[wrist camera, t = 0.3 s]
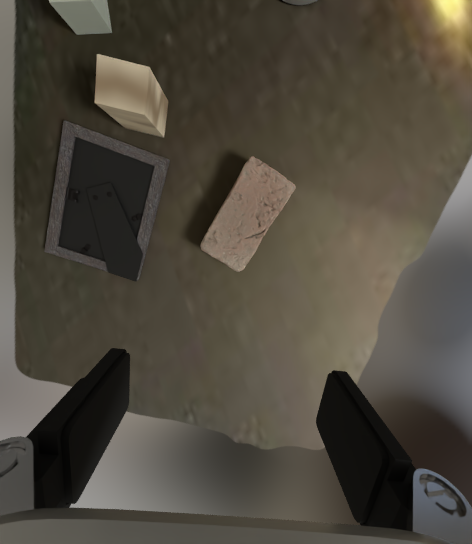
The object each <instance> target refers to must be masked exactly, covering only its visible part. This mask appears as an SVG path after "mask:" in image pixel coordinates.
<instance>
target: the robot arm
mask: <svg viewBox="0 0 472 544" xmlns="http://www.w3.org/2000/svg"><path fill="white" fill-rule="evenodd" d="M282 1H284V2H287V3H290V4H294V5H305V4H310V3H313V2H315V1H318V0H282ZM129 379H130V354H129V353H126V350H125V349H116V348H112V349H110V350H109V352H108V353H107V354H106V355H105V356H104V357H103V358H102V359H101V360H100V361H99V363H98V364H97V365H96V366H95V367H94V368H93V369H92V370H91V371H90V372H89V374H88V375H87V376H86V377H85V378H82V379H80V380H79V381H78V382H77V383H76V384H75V385H74V386H73V387H72V388H71V389H70V391H68V393H67V394H66V395H65V396H64V397H63V398H62V399H61V400H60V401H59V402H58V404H56V405H55V407H54V408H53V409H52V410H51V411H50V412H49V413H48V414H47V415H46V416H45V417H44V418H43V420H42V421H41V422H40V423H39V424H38V425H37V426H36V427H35V428H34V429H33V430H32V431H31V432H30V434H29V435H28V436H27V437H11V438H8V439H5V440H2V441H0V544H472V508H471V506H470V504H469V503H468V502H467V500H466V498H465V497H464V496H463V495H462V494H461V492H460V491H459V490H458V489H457V488H456V487H455V486H454V485H452V484H451V483H450V482H449V481H448V480H446V479H445V478H443V477H442V476H440V475H439V474H437V473H435V472H433V471H430V470H427V469H417V470H416V469H415V467H414V466H413V465H412V463H411V462H412V460H411V459H410V457H409V456H408V455H407V453H406V452H405V450H404V449H403V448H402V447H401V445H400V444H399V442H398V441H397V440H396V438H395V437H394V436H393V434H392V433H391V431H390V430H389V429H388V428H387V426H386V425H385V423H384V422H383V421H382V419H381V418H380V417H379V415H378V414H377V413H376V411H375V410H374V408H373V407H372V406H371V404H370V403H369V402H368V400H367V399H366V398H365V396H364V395H363V394H362V392H361V391H360V389H359V388H358V387H357V385H356V384H355V383H354V381H353V380H352V379H351V377H350V376H349V374H348V373H347V372H344V371H335V370H334V371H332V373H329V374H328V377H327V380H326V384H325V388H324V392H323V395H322V399H321V403H320V407H319V410H318V414H317V418H316V424H317V428H318V430H319V433H320V435H321V438H322V440H323V443H324V445H325V448H326V450H327V453H328V455H329V458H330V460H331V462H332V465H333V467H334V470H335V472H336V475H337V477H338V480H339V482H340V485H341V487H342V489H343V492H344V495H345V497H346V499H347V502H348V504H349V507H350V509H351V512H352V514H353V517H354V519H355V520H356V521H357V522H359V523H360V525H361V526H360V525H348V524H335V523H321V522H308V521H294V520H280V519H264V518H250V517H234V516H217V515H204V514H188V513H171V512H153V511H136V510H119V509H89V508H69V507H70V505H71V504H75V503H76V502H77V501H78V499H79V497H80V496H81V494H82V492H83V490H84V489H85V487H86V485H87V483H88V481H89V479H90V477H91V476H92V474H93V472H94V470H95V468H96V466H97V464H98V463H99V461H100V459H101V457H102V455H103V453H104V451H105V450H106V447H107V446H108V444H109V442H110V440H111V438H112V437H113V435H114V433H115V431H116V429H117V427H118V426H119V424H120V422H121V420H122V418H123V416H124V414H125V412H126V411H127V408H128V405H129Z"/></svg>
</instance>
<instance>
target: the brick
mask: <svg viewBox="0 0 472 544" xmlns="http://www.w3.org/2000/svg"><path fill="white" fill-rule="evenodd" d="M295 188H296V187H295V185H294V184H293V183H292V182H291V181H288V180H287V179H286V177H284V176H283V175H281V174H280V173H279V172H277V171H276V170H274V169H273V168H271V167H269V166H268V165H266V164H265V163H263V162H262V161H260V160H259V159H256V158H255V157H253V156H251V157H250V159H249V160H248V161H247V162H246V163H245V165H244V167H243V168H242V171H241V173H240V175H239V176H238V178H237V180H236V182H235V184H234V185H233V187H232V189H231V191H230V192H229V194H228V196H227V198H226V200H225V201H224V203H223V204H222V206H221V208H220V209H219V211H218V213H217V215H216V216H215V218H214V220H213V222H212V224H211V226H210V228H209V229H208V231H207V233H206V234H205V236H204V238H203V240H202V242H201V245H200V247H201V250H202V251H204V252H206V253H208V254H209V255H211V256H212V257H213V258H216V259H218V260H219V261H221V262H223V263H225V264H226V265H227V266H228V267H230V268H232V269H233V270H235V271H238V272H240V271H242V270H243V269H244V268H245V266H246V264H247V263H248V262H249V261H250V259H251V257H252V256H253V255H254V253H255V251H256V250H257V248H258V246H259V244H260V242H261V241H262V238H263V236H264V235H265V234H266V232H267V230H268V228H269V227H270V225H271V224H272V223H273V221H274V220H275V218H276V217H277V216H278V215H279V212H280V211H281V210H282V209H283V207H284V206H285V204H286V203H287V201H288V199H289V198H290V196H291V195H292V193H293V191H294V189H295Z"/></svg>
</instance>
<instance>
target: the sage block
mask: <svg viewBox="0 0 472 544" xmlns="http://www.w3.org/2000/svg"><path fill="white" fill-rule="evenodd" d="M49 3H50V4H51V5H52V6H53V7H54V9H55V10H56V11H57V12H58V13H59V14H60V16H61V17H62V18H63V19H64V20H65V21H66V23H67V24H68V25H69V26H70V27H71V28H72V30H73V31H74V32H75V33H76V34H77V35H80V34H99V33H112V30H111V23H110V17H109V10H108V4H107V0H49Z"/></svg>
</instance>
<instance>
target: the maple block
mask: <svg viewBox="0 0 472 544" xmlns="http://www.w3.org/2000/svg"><path fill="white" fill-rule="evenodd" d="M95 103H96V104H97V105H98V106H99V107H100V108H102V109H103V110H104V111H105V112H106V113H108V114H109V115H110V116H111V117H112V118H114V119H115V120H116V121H117V122H118V123H120V124H121V125H122V126H123V127H124V128H126V129H130V130H135V131H139V132H143V133H147V134H152V135H156V136H160V137H164V134H165V125H166V117H167V108H168V100H167V98H166V96H165V95H164V93H163V91H162V89H161V87H160V86H159V84H158V82H157V80H156V78H155V76H154V75H153V73H152V71H151V69H150V67H147V66H143V65H139V64H135V63H131V62H127V61H123V60H119V59H115V58H111V57H107V56H103V55H100V54H97V67H96V87H95Z"/></svg>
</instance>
